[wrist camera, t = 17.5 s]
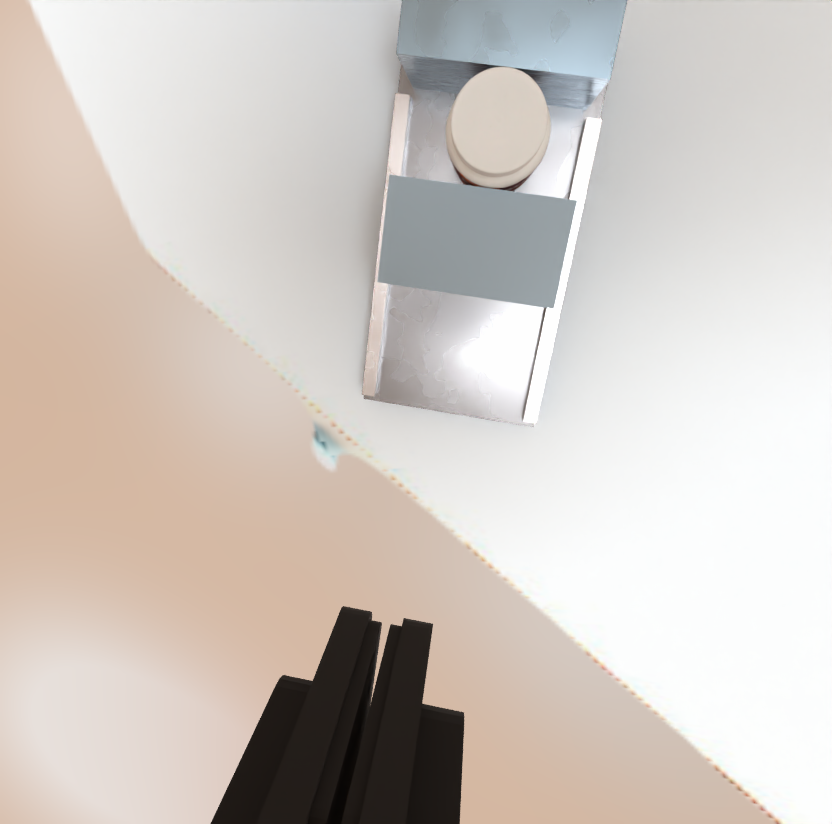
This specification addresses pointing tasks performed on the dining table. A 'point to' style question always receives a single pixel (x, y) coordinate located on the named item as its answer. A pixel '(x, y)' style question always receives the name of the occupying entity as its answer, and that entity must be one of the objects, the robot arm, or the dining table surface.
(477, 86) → the pill bottle
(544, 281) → the plate
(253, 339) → the dining table surface
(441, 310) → the vise base
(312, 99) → the dining table surface
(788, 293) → the dining table surface
